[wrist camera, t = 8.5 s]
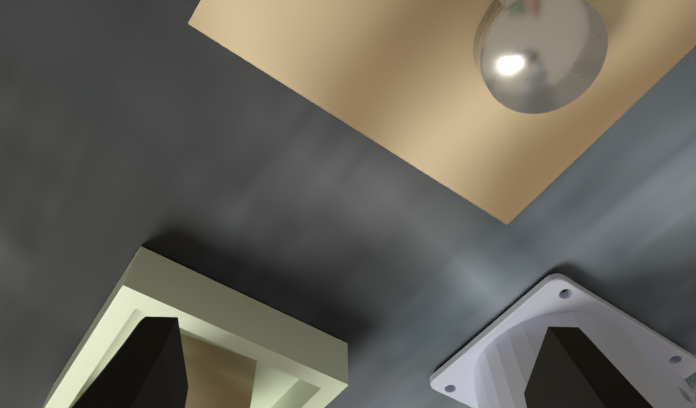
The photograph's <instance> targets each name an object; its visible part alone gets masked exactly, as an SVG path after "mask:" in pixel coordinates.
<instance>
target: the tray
mask: <svg viewBox="0 0 696 408" xmlns="http://www.w3.org/2000/svg"><path fill="white" fill-rule="evenodd" d="M145 316H150V317H178V322H179V328H180V333H181V334H183V335H186V336H189V337H192V338H195V339H198V340H200V341H203V342H206V343H209V344H212V345H215V346H217V347H220V348H223V349H226V350H229V351H232V352H234V353H237V354H240V355H243V356H246V357H249V358H251V359H254V360H256V361H257V364H256V371H255V378H254V385H253V392H252V399H251V406H250V408H324V407H326V406H327V405H328V404H329V403H330V402H331V401H332V400H333V399H334V398H335V397H336V396H337V395H338V394H339V393H340V392H341V391H343V390H344V389H345V388H346V387H347V386H348V385H349V382H348V344H347V343H346V342H344V341H341V340H339V339H337V338H335V337H333V336H331V335H329V334H327V333H324V332H322V331H320V330H318V329H316V328H314V327H312V326H310V325H307V324H305V323H303V322H301V321H299V320H297V319H295V318H293V317H290V316H288V315H286V314H284V313H282V312H280V311H278V310H276V309H273V308H271V307H269V306H267V305H265V304H263V303H261V302H259V301H257V300H254V299H252V298H250V297H248V296H246V295H244V294H242V293H240V292H237V291H235V290H233V289H231V288H229V287H227V286H225V285H223V284H220V283H218V282H216V281H214V280H212V279H210V278H208V277H206V276H203V275H201V274H199V273H197V272H195V271H193V270H191V269H189V268H186V267H184V266H182V265H180V264H178V263H176V262H174V261H172V260H169V259H167V258H165V257H163V256H161V255H159V254H157V253H155V252H152V251H150V250H148V249H146V248H144V247H142V246H141V247H140V248H139V250H138V251H137V253H136V254H135V256H134V258H133V259H132V261H131V262H130V264H129V266H128V267H127V269H126V270H125V272H124V274H123V275H122V277H121V278H120V280H119V281H118V283H117V285H116V286H115V288H114V289H113V291H112V293H111V294H110V296H109V297H108V299H107V301H106V302H105V304H104V305H103V307H102V308H101V310H100V312H99V313H98V315H97V316H96V318H95V320H94V321H93V323H92V324H91V326H90V327H89V329H88V331H87V332H86V334H85V335H84V337H83V339H82V340H81V342H80V343H79V345H78V347H77V348H76V350H75V351H74V353H73V354H72V356H71V358H70V359H69V361H68V362H67V364H66V366H65V367H64V369H63V370H62V372H61V373H60V375H59V377H58V378H57V380H56V381H55V383H54V385H53V387H52V389H51V391H50V393H49V395H48V397H47V399H46V401H45V403H44V405H43V407H42V408H71V407H72V406H73V405H74V404H75V403H76V401H77V400H78V399H79V398H80V397H81V395H82V394H83V393H84V392H85V391H86V390H87V388H88V387H89V386H90V385H91V384H92V382H93V381H94V380H95V379H96V378H97V376H98V375H99V374H100V373H101V371H102V370H103V369H104V368H105V366H106V365H107V364H108V363H109V361H110V360H111V359H112V357H113V356H114V355H115V354H116V352H117V351H118V350H119V348H120V347H121V346H122V344H123V343H124V342H125V340H126V339H127V338H128V336H129V335H130V334H131V332H132V331H133V330H134V328H135V327H136V326H137V324H138V323H139V322H140V320H142V319H143V318H144V317H145Z"/></svg>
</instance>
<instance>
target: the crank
mask: <svg viewBox="0 0 696 408" xmlns="http://www.w3.org/2000/svg"><path fill="white" fill-rule="evenodd" d="M607 48H608V36H607V29H606V26H605V23H604V21H603V19H602V17H601V15H600V14H599V12H598V11H597V10H596V9H595V8H594V7H593V6H592V5H591V4H590V3H588V2H587V1H586V0H497V1H496V2H495V3H494V4H493V5H492V6H491V7H490V8H489V9H488V11H487V12H486V13H485V15H484V16H483V18H482V20H481V21H480V23H479V26H478V28H477V31H476V34H475V38H474V45H473V54H474V61H475V65H476V68H477V70H478V72H479V74H480V76H481V77H482V79H483V81H484V83H485V84H486V86H487V88H488V89H489V91H490V93H491V94H492V95H493V97H494V98H495V99H496V100H497V101H498V102H499V103H501V104H502V105H503V106H505V107H507V108H509V109H511V110H513V111H516V112H520V113H526V114H540V113H546V112H551V111H554V110H557V109H559V108H562V107H564V106H566V105H568V104H569V103H571V102H573V101H574V100H576V99H577V98H578V97H580V96H581V95H582V94H583V93H584V92H585V91H586V90H587V89H588V88H589V87H590V86H591V85H592V83H593V82H594V81H595V79H596V78H597V76H598V74H599V73H600V71H601V69H602V66H603V64H604V61H605V58H606V54H607Z"/></svg>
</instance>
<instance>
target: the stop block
mask: <svg viewBox="0 0 696 408" xmlns="http://www.w3.org/2000/svg"><path fill="white" fill-rule="evenodd" d="M180 335H181V341H182V348H183V354H184V361H185V367H186V374H187V380H188V386H189V387H188V393H187V399H186V404H185V408H250V406H251V399H252V392H253V385H254V378H255V371H256V364H257V361H256V360H254V359H251V358H249V357H246V356H243V355H240V354H237V353H234V352H232V351H229V350H226V349H223V348H220V347H217V346H215V345H212V344H209V343H206V342H203V341H200V340H198V339H195V338H192V337H189V336H186V335H183V334H181V333H180Z"/></svg>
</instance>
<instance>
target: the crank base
mask: <svg viewBox="0 0 696 408" xmlns="http://www.w3.org/2000/svg"><path fill="white" fill-rule="evenodd" d="M496 1H497V0H201V1H200V3H199V4H198V6H197V8H196V10H195V12H194V14H193V15H192V17H191V19H190V21H189V23H188V24H189V25H191V26H192V27H194V28H196V29H197V30H199V31H200V32H202V33H204V34H205V35H207V36H208V37H210V38H212V39H213V40H215V41H216V42H218V43H219V44H221V45H223V46H224V47H226V48H227V49H229V50H231V51H232V52H234V53H235V54H237V55H239V56H240V57H242V58H243V59H245V60H246V61H248V62H250V63H251V64H253V65H254V66H256V67H258V68H259V69H261V70H262V71H264V72H265V73H267V74H269V75H270V76H272V77H273V78H275V79H277V80H278V81H280V82H281V83H283V84H285V85H286V86H288V87H289V88H291V89H292V90H294V91H296V92H297V93H299V94H300V95H302V96H304V97H305V98H307V99H308V100H310V101H311V102H313V103H315V104H316V105H318V106H319V107H321V108H323V109H324V110H326V111H327V112H329V113H331V114H332V115H334V116H335V117H337V118H338V119H340V120H342V121H343V122H345V123H346V124H348V125H350V126H351V127H353V128H354V129H356V130H358V131H359V132H361V133H362V134H364V135H365V136H367V137H369V138H370V139H372V140H373V141H375V142H377V143H378V144H380V145H381V146H383V147H384V148H386V149H388V150H389V151H391V152H392V153H394V154H396V155H397V156H399V157H400V158H402V159H404V160H405V161H407V162H408V163H410V164H411V165H413V166H415V167H416V168H418V169H419V170H421V171H423V172H424V173H426V174H427V175H429V176H430V177H432V178H434V179H435V180H437V181H438V182H440V183H442V184H443V185H445V186H446V187H448V188H450V189H451V190H453V191H454V192H456V193H457V194H459V195H461V196H462V197H464V198H465V199H467V200H469V201H470V202H472V203H473V204H475V205H477V206H478V207H480V208H481V209H483V210H484V211H486V212H488V213H489V214H491V215H492V216H494V217H496V218H497V219H499V220H500V221H502V222H503V223H505V224H507V225H508V224H509V223H510V222H511V221H512V220H513V219H514V218H515V217H516V216H517V215H518V214H519V213H520V212H521V211H522V210H523V209H524V208H525V207H526V206H527V205H529V204H530V203H531V202H532V201H533V200H534V199H535V198H536V197H537V196H538V195H539V194H540V193H541V192H542V191H543V190H544V189H545V188H546V187H547V186H548V185H549V184H551V183H552V182H553V181H554V180H555V179H556V178H557V177H558V176H559V175H560V174H561V173H562V172H563V171H564V170H565V169H566V168H567V167H568V166H569V165H570V164H572V163H573V162H574V161H575V160H576V159H577V158H578V157H579V156H580V155H581V154H582V153H583V152H584V151H585V150H586V149H587V148H588V147H589V146H590V145H591V144H592V143H594V142H595V141H596V140H597V139H598V138H599V137H600V136H601V135H602V134H603V133H604V132H605V131H606V130H607V129H608V128H609V127H610V126H611V125H612V124H613V123H615V122H616V121H617V120H618V119H619V118H620V117H621V116H622V115H623V114H624V113H625V112H626V111H627V110H628V109H629V108H630V107H631V106H632V105H633V104H634V103H635V102H637V101H638V100H639V99H640V98H641V97H642V96H643V95H644V94H645V93H646V92H647V91H648V90H649V89H650V88H651V87H652V86H653V85H654V84H655V83H656V82H658V81H659V80H660V79H661V78H662V77H663V76H664V75H665V74H666V73H667V72H668V71H669V70H670V69H671V68H672V67H673V66H674V65H675V64H676V63H677V62H678V61H680V60H681V59H682V58H683V57H684V56H685V55H686V54H687V53H688V52H689V51H690V50H691V49H692V48H693V47H694V46H695V45H696V0H586V1H587V2H588V3H590V4H591V5H592V6H593V7H594V8H595V9H596V10H597V11H598V12H599V14H600V15H601V17H602V19H603V21H604V23H605V26H606V29H607V36H608V48H607V54H606V58H605V61H604V64H603V66H602V69H601V71H600V73H599V74H598V76H597V78H596V79H595V81H594V82H593V83H592V85H591V86H590V87H589V88H588V89H587V90H586V91H585V92H584V93H583V94H582V95H581V96H580V97H578V98H577V99H576V100H574V101H573V102H571V103H569V104H568V105H566V106H564V107H562V108H559V109H557V110H554V111H551V112H546V113H540V114H526V113H520V112H516V111H513V110H511V109H509V108H507V107H505V106H503V105H502V104H501V103H499V102H498V101H497V100H496V99H495V98H494V97H493V95H492V94H491V93H490V91H489V89H488V88H487V86H486V84H485V83H484V81H483V79H482V77H481V76H480V74H479V72H478V70H477V68H476V65H475V61H474V54H473V45H474V38H475V34H476V31H477V28H478V26H479V23H480V21H481V20H482V18H483V16H484V15H485V13H486V12H487V11H488V9H489V8H490V7H491V6H492V5H493V4H494V3H495V2H496Z"/></svg>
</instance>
